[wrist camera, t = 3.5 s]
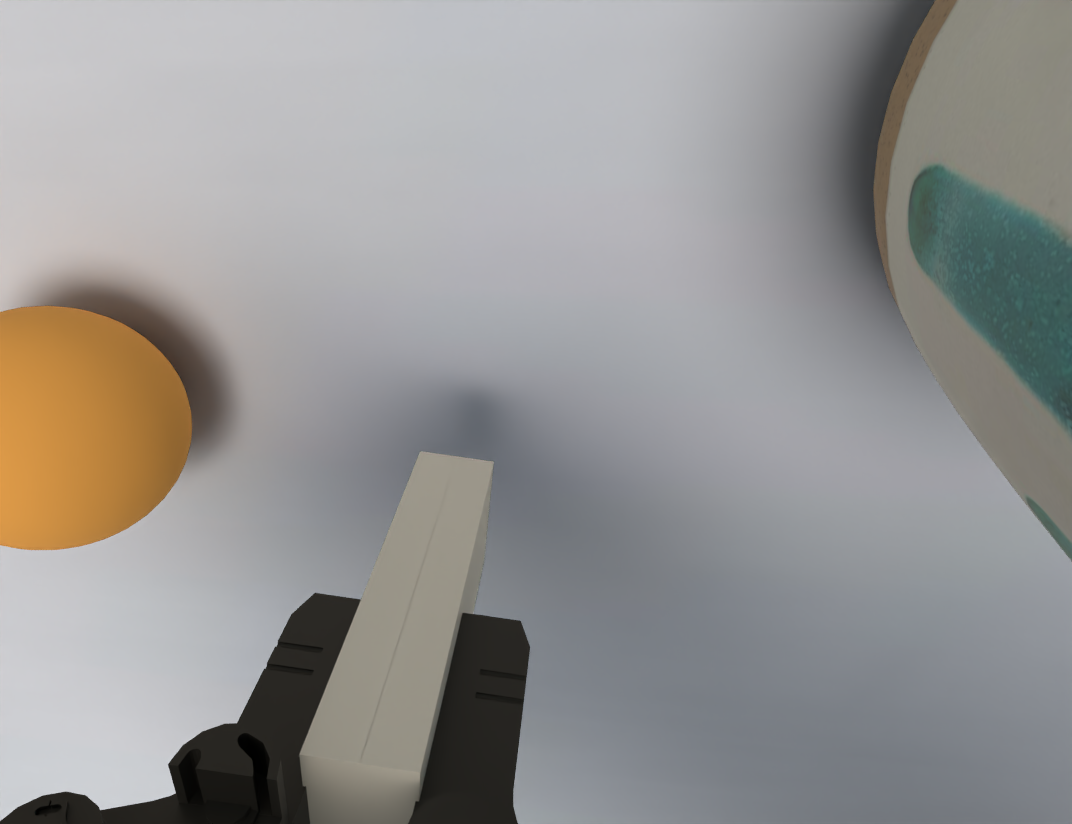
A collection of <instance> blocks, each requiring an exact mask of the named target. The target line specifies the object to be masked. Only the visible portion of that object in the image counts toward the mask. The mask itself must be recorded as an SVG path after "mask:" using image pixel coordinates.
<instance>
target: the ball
mask: <svg viewBox="0 0 1072 824" xmlns="http://www.w3.org/2000/svg"><path fill="white" fill-rule="evenodd" d="M191 435H192V417H191V409H190V405H189V401H188V397H187V393H186V391H185V388H184V385H183V383H182V381H181V379H180V377H179V376H178V374H177V372H176V371H175V369H174V368H173V366H172V365H171V363H170V362H169V361H168V360H167V358H166V357H165V356H164V355H163V354H162V353H161V352H160V351H159V350H158V349H157V348H156V347H155V346H154V345H153V344H152V343H151V342H150V341H148V340H147V339H146V338H145V337H143V336H142V335H140V334H139V333H138V332H136V331H135V330H133V329H132V328H130V327H128V326H126V325H124V324H122V323H121V322H118V321H116V320H114V319H111V318H109V317H106V316H103V315H100V314H96V313H93V312H90V311H86V310H81V309H76V308H69V307H58V306H35V307H21V308H16V309H11V310H7V311H3V312H0V545H2V546H7V547H13V548H18V549H27V550H58V549H66V548H72V547H79V546H83V545H87V544H91V543H94V542H97V541H100V540H103V539H106V538H108V537H110V536H113V535H115V534H117V533H119V532H121V531H123V530H125V529H127V528H129V527H130V526H132V525H133V524H135V523H136V522H138V521H139V520H141V519H142V518H143V517H145V516H146V515H147V514H148V513H150V512H151V511H152V510H153V509H154V508H155V507H156V506H157V505H158V504H159V503H160V502H161V501H162V500H163V499H164V498H165V496H166V495H167V494H168V492H169V491H170V490H171V488H172V487H173V486H174V484H175V483H176V481H177V480H178V478H179V475H180V473H181V471H182V469H183V467H184V465H185V463H186V460H187V456H188V452H189V448H190V444H191Z"/></svg>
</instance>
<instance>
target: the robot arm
mask: <svg viewBox="0 0 1072 824" xmlns="http://www.w3.org/2000/svg"><path fill="white" fill-rule="evenodd" d="M493 466H494V462H493V461H486V460H479V459H472V458H465V457H457V456H450V455H443V454H436V453H429V452H422V451H420V453H419V455H418V458H417V460H416V463H415V465H414V468H413V470H412V473H411V475H410V478H409V480H408V483H407V485H406V488H405V490H404V493H403V495H402V498H401V501H400V503H399V506H398V508H397V511H396V513H395V516H394V518H393V521H392V523H391V526H390V528H389V531H388V533H387V536H386V538H385V541H384V543H383V546H382V548H381V551H380V553H379V556H378V558H377V561H376V563H375V566H374V568H373V571H372V573H371V576H370V578H369V581H368V583H367V586H366V588H365V591H364V593H363V596H362V598H361V600H360V599H353V598H346V597H339V596H332V595H325V594H318V593H314V594H313V595H312V596H311V597H310V598H309V599H308V600H307V601H306V602H305V603H303V604H302V605H301V606H300V607H299V608H298V609H297V610H296V611H295V612H294V613H292V614H291V616H290V618H289V620H288V622H287V624H286V626H285V628H284V630H283V632H282V634H281V636H280V638H279V640H278V645H277V647H275V648H274V650H273V652H272V654H271V656H270V658H269V660H268V662H267V667H266V669H264V670H263V672H262V674H261V676H260V678H259V680H258V682H257V684H256V686H255V688H254V690H253V692H252V694H251V697H250V699H249V701H248V703H247V705H246V707H245V709H244V711H243V713H242V715H241V717H240V719H239V721H238V723H234V724H223V725H220V726H217V727H214V728H211V729H209V730H206V731H203V732H201V733H200V734H199V735H197V736H196V737H194V738H193V739H192V740H190V741H189V742H187V743H186V744H184V745H183V746H182V747H181V749H180V750H179V751H178V752H177V754H176V755H175V756H174V758H173V759H172V760H171V761H170V763H169V764H168V766H169V769H170V773H171V776H172V780H173V784H174V787H175V791H176V794H174V795H172V796H169V797H165V798H162V799H158V800H155V801H150V802H145V803H139V804H133V805H128V806H122V807H117V808H111V809H105V810H100V809H99V807H98V806H97V805H96V804H95V803H94V802H93V801H91V800H90V799H89V798H88V797H87V796H85V795H80V794H75V793H70V792H61V793H56V794H50V795H44V796H41V797H39V798H37V799H35V800H32V801H30V802H28V803H26V804H24V805H22V806H20V807H18V808H16V809H15V810H14V811H13V812H11V813H10V814H9V815H8V816H6V817H5V818H4V819H3V820H1V821H0V824H518V823H517V820H516V816H515V812H514V808H513V788H514V779H515V771H516V762H517V754H518V745H519V737H520V728H521V720H522V711H523V702H524V694H525V686H526V677H527V669H528V660H529V652H530V646H529V643H528V640H527V637H526V635H525V632H524V629H523V626H522V623H521V621H517V620H510V619H503V618H496V617H490V616H483V615H476V614H473V612H474V607H475V603H476V598H477V593H478V589H479V584H480V579H481V575H482V570H483V565H484V559H485V549H486V539H487V528H488V518H489V507H490V497H491V487H492V476H493Z"/></svg>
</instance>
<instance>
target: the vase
mask: <svg viewBox="0 0 1072 824" xmlns="http://www.w3.org/2000/svg"><path fill="white" fill-rule="evenodd" d="M873 194H874V210H875V226H876V235H877V241H878V246H879V250H880V254H881V258H882V262H883V266H884V270H885V274H886V278H887V283H888V287H889V289H890V291H891V293H892V296H893V298H894V300H895V302H896V304H897V306H898V308H899V310H900V313H901V315H902V317H903V319H904V321H905V323H906V325H907V327H908V330H909V332H910V334H911V336H912V338H913V340H914V342H915V344H916V347H917V348H918V350H919V352H920V353H921V355H922V357H923V358H924V360H925V362H926V363H927V365H928V367H929V369H930V370H931V372H932V374H933V375H934V377H935V378H936V380H937V382H938V383H939V385H940V386H941V388H942V389H943V391H944V392H945V394H946V396H947V397H948V399H949V400H950V402H951V403H952V405H953V406H954V408H955V409H956V411H957V412H958V414H959V415H960V416H961V418H962V419H963V421H964V422H965V423H966V425H967V426H968V428H969V429H970V430H971V432H972V433H973V434H974V436H975V437H976V439H977V440H978V441H979V443H980V444H981V445H982V447H983V448H984V450H985V451H986V452H987V454H988V455H989V456H990V458H991V459H992V460H993V462H994V463H995V464H996V466H997V467H998V468H999V470H1000V471H1001V472H1002V474H1003V475H1004V476H1005V478H1006V479H1007V480H1008V482H1009V483H1010V484H1011V486H1012V487H1013V488H1014V489H1015V491H1016V492H1017V493H1018V495H1019V496H1020V497H1021V499H1022V500H1023V501H1024V502H1025V504H1026V505H1027V506H1028V507H1029V509H1030V510H1031V511H1032V512H1033V514H1034V515H1035V516H1036V517H1037V519H1038V520H1039V521H1040V522H1041V524H1042V525H1043V526H1044V527H1045V529H1046V530H1047V531H1048V532H1049V534H1050V535H1051V536H1052V537H1053V539H1054V540H1055V541H1056V542H1057V544H1058V545H1059V546H1060V547H1061V549H1062V550H1063V551H1064V552H1065V554H1066V555H1067V556H1068V557H1069V558H1070V560H1071V561H1072V0H935V2H934V3H933V5H932V7H931V9H930V10H929V12H928V14H927V16H926V17H925V19H924V21H923V23H922V25H921V26H920V28H919V30H918V32H917V33H916V35H915V37H914V39H913V41H912V43H911V45H910V48H909V50H908V53H907V55H906V58H905V60H904V62H903V65H902V67H901V70H900V72H899V75H898V77H897V80H896V82H895V84H894V87H893V89H892V92H891V95H890V99H889V103H888V107H887V110H886V114H885V118H884V122H883V126H882V130H881V134H880V137H879V141H878V149H877V158H876V168H875V177H874V187H873Z"/></svg>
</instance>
